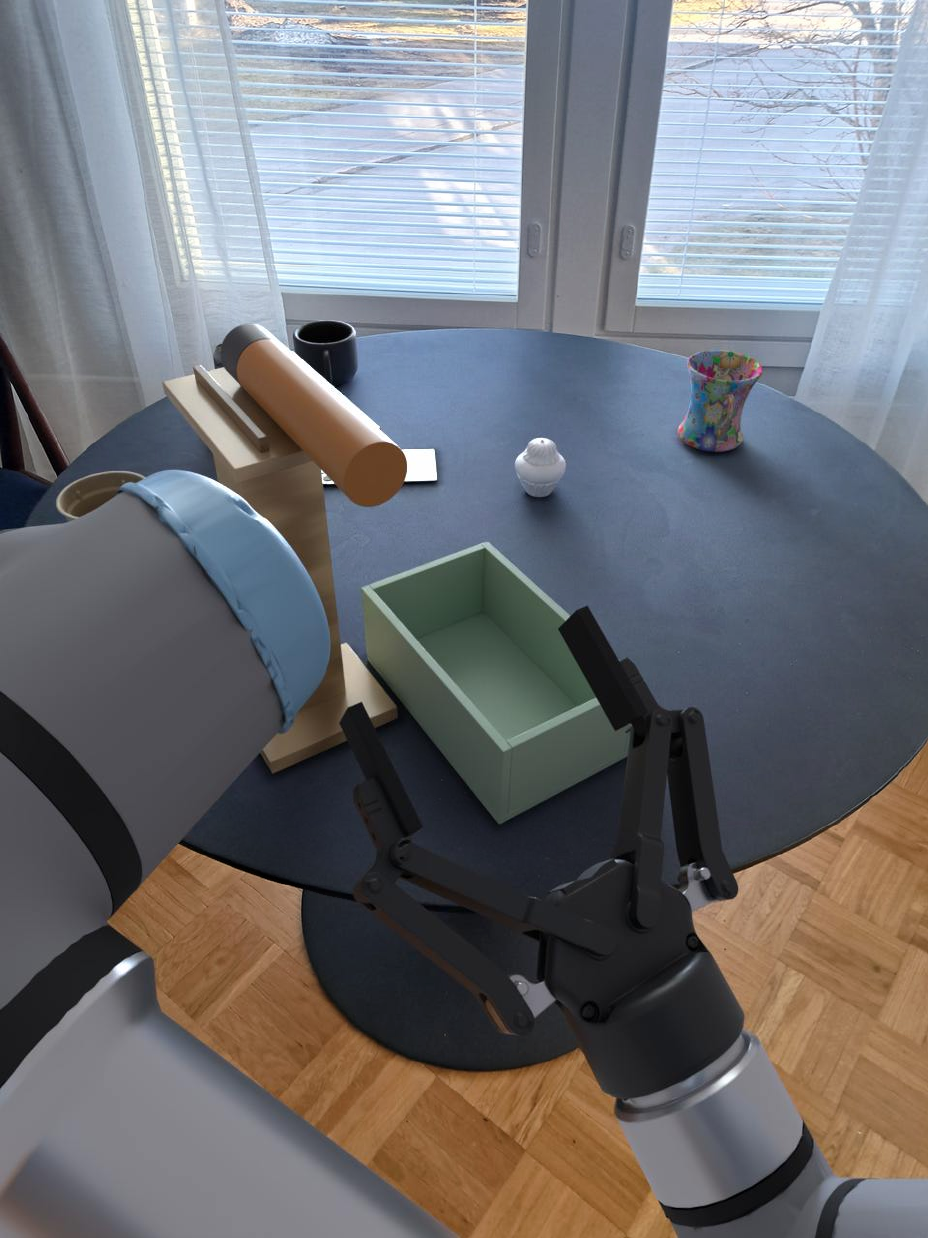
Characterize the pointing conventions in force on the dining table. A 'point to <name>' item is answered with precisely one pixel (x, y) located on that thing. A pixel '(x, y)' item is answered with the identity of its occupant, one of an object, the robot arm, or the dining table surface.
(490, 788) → the bin
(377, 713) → the stand
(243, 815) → the dining table surface
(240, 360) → the orange brown cylinder
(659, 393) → the dining table surface
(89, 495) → the flower pot
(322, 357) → the mug
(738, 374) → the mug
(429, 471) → the smartphone
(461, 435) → the dining table surface
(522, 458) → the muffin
